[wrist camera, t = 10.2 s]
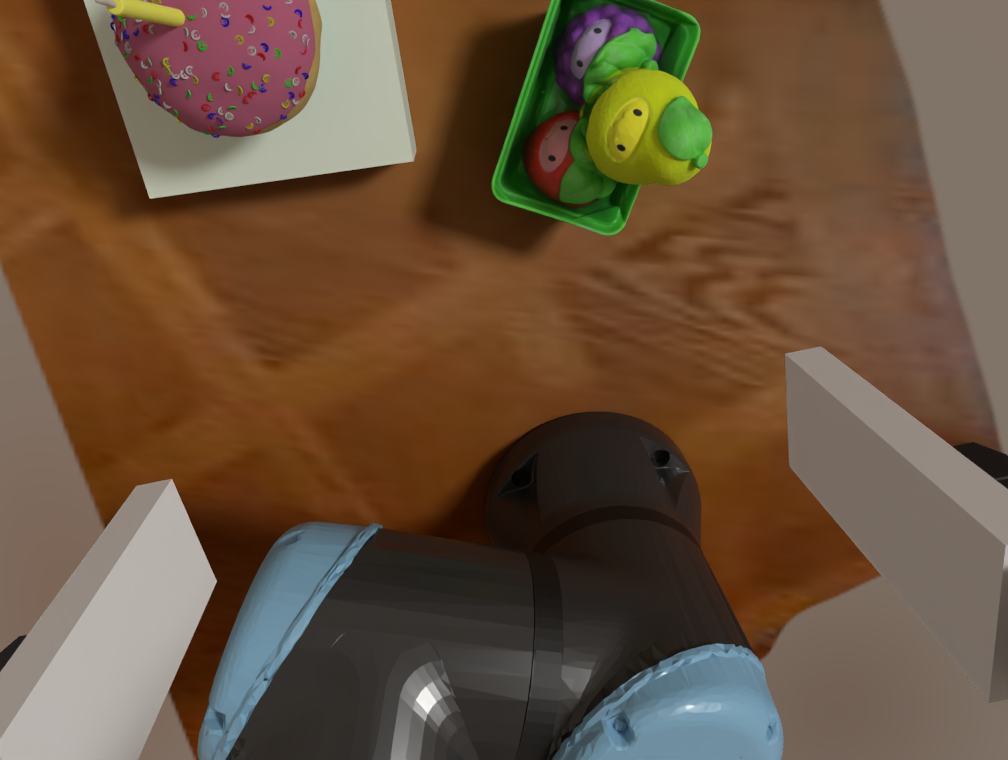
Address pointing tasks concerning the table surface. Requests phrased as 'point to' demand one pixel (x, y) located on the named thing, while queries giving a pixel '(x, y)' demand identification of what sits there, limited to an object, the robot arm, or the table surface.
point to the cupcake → (222, 59)
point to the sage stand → (300, 141)
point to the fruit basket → (603, 113)
